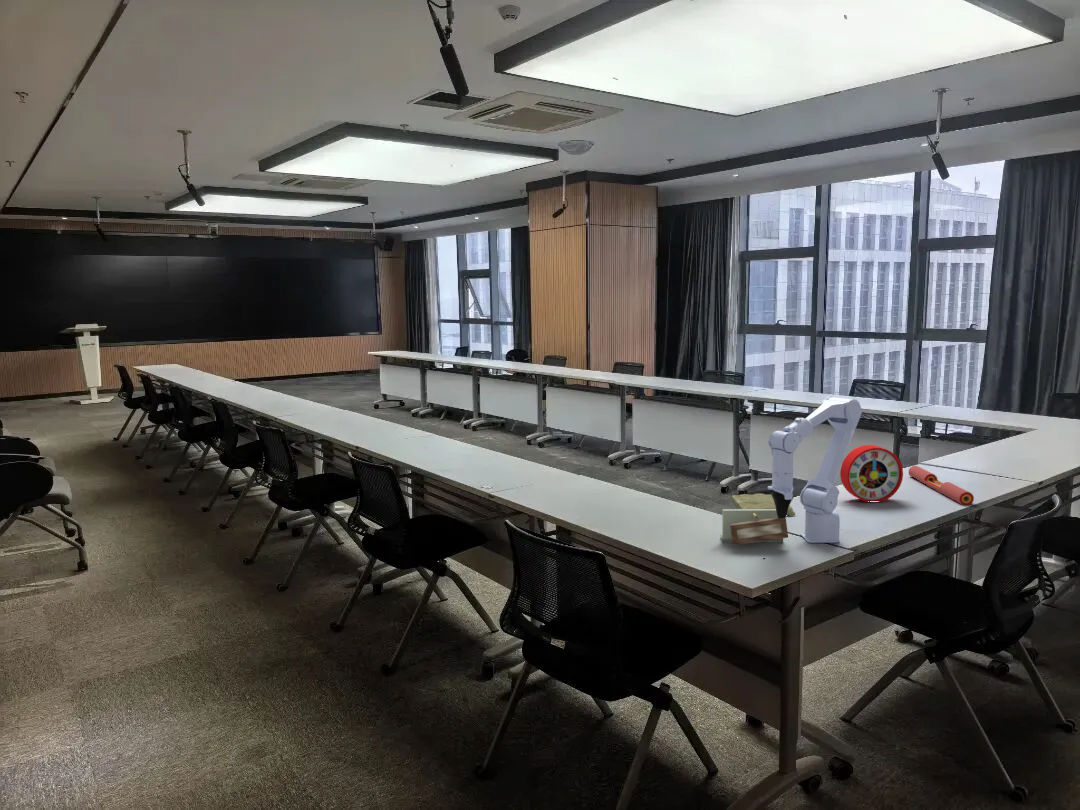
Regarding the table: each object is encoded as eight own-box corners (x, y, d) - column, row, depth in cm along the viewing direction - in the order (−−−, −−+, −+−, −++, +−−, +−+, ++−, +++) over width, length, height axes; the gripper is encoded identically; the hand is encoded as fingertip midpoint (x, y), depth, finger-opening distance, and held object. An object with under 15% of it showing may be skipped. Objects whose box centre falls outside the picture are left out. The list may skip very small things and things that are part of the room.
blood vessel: (973, 505, 257) (974, 491, 256) (958, 505, 257) (959, 492, 256) (920, 477, 298) (921, 465, 297) (907, 477, 298) (908, 465, 298)
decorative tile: (743, 518, 249) (744, 508, 249) (731, 502, 269) (731, 492, 268) (799, 518, 248) (800, 507, 248) (782, 501, 268) (783, 492, 268)
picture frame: (786, 535, 218) (784, 516, 217) (788, 537, 216) (785, 518, 215) (732, 543, 219) (729, 524, 218) (733, 545, 217) (730, 525, 217)
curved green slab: (779, 538, 226) (780, 506, 225) (786, 546, 218) (787, 513, 217) (720, 538, 227) (720, 506, 226) (725, 546, 220) (725, 514, 218)
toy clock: (846, 503, 262) (848, 448, 259) (839, 499, 268) (841, 445, 265) (901, 502, 262) (904, 447, 259) (893, 497, 268) (896, 443, 265)
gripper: (762, 466, 222) (762, 510, 224) (774, 478, 207) (774, 524, 209) (786, 466, 221) (785, 510, 223) (800, 477, 207) (799, 524, 209)
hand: (781, 517), depth 216 cm, fingers closed
